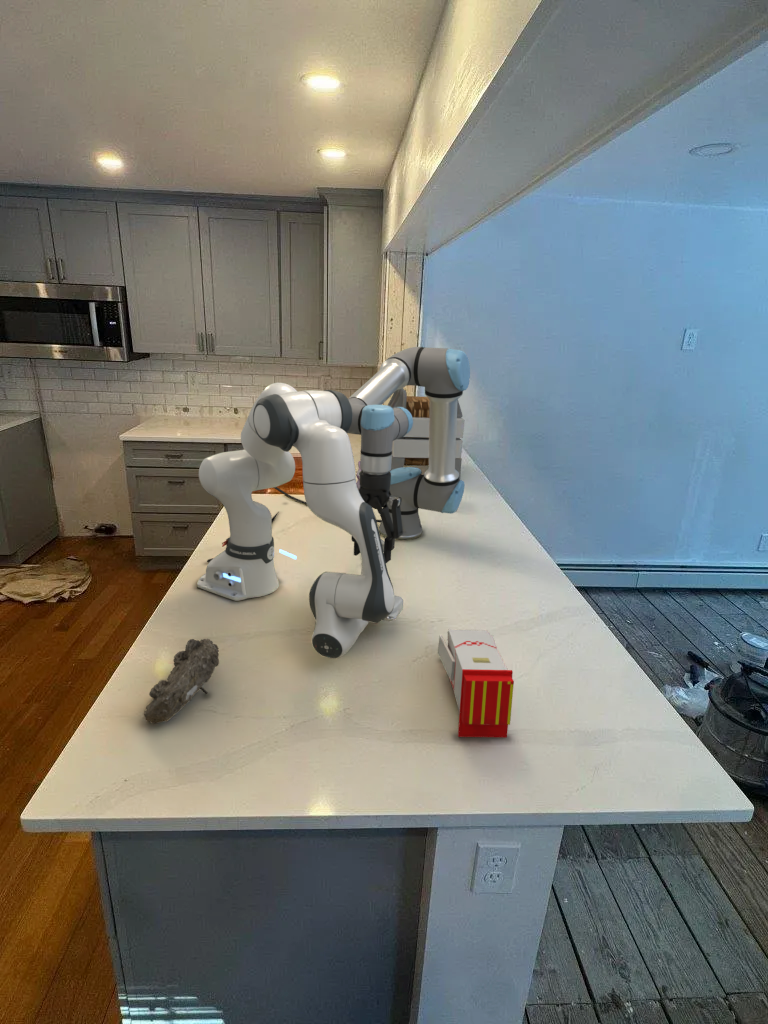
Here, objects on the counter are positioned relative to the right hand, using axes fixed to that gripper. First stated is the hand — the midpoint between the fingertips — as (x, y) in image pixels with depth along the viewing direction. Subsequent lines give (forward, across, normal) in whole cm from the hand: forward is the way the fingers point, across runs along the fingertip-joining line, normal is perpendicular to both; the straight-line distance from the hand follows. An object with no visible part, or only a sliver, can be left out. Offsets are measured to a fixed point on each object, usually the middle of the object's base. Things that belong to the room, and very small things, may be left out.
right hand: (372, 557), depth 144 cm
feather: (+15, +64, -43) cm, 78 cm away
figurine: (+15, +48, -82) cm, 96 cm away
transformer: (+15, +43, -128) cm, 136 cm away
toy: (+15, -34, +19) cm, 42 cm away
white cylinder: (-4, 0, 0) cm, 4 cm away
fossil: (+15, +15, +48) cm, 53 cm away
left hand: (+9, 0, -1) cm, 9 cm away
